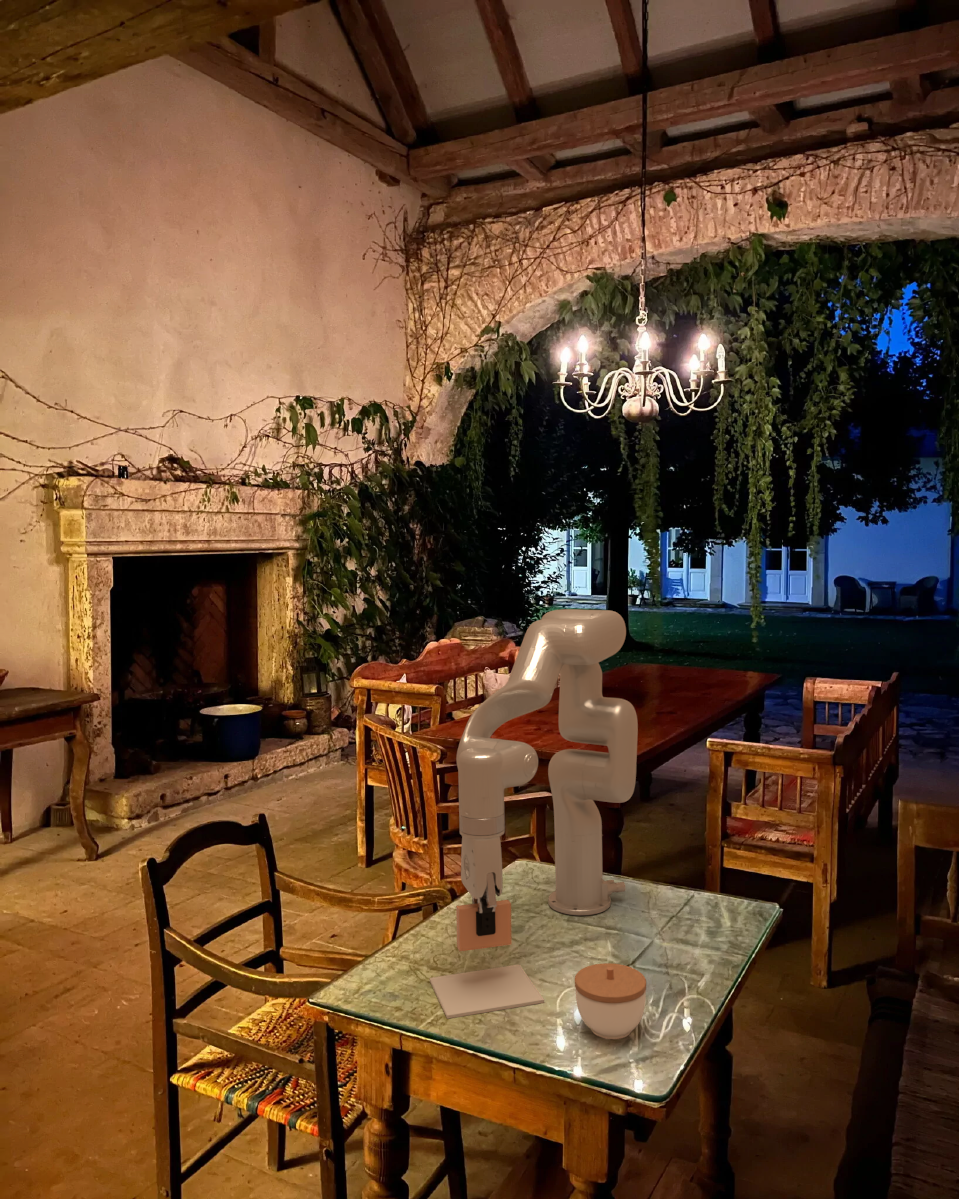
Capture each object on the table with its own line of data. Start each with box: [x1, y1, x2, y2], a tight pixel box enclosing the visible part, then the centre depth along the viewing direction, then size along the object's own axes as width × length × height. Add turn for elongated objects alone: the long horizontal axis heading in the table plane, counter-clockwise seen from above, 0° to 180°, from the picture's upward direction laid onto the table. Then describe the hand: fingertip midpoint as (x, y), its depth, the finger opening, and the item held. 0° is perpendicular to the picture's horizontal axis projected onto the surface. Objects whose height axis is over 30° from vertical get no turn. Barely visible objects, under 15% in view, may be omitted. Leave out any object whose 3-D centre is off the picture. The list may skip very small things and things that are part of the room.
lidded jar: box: [574, 962, 647, 1040], centre depth 139 cm, size 11×11×9 cm
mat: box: [429, 964, 545, 1019], centre depth 151 cm, size 16×13×1 cm
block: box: [455, 899, 513, 952], centre depth 154 cm, size 9×2×7 cm, turn 106°
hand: (484, 931), depth 154 cm, fingers closed on block, 1 cm apart
